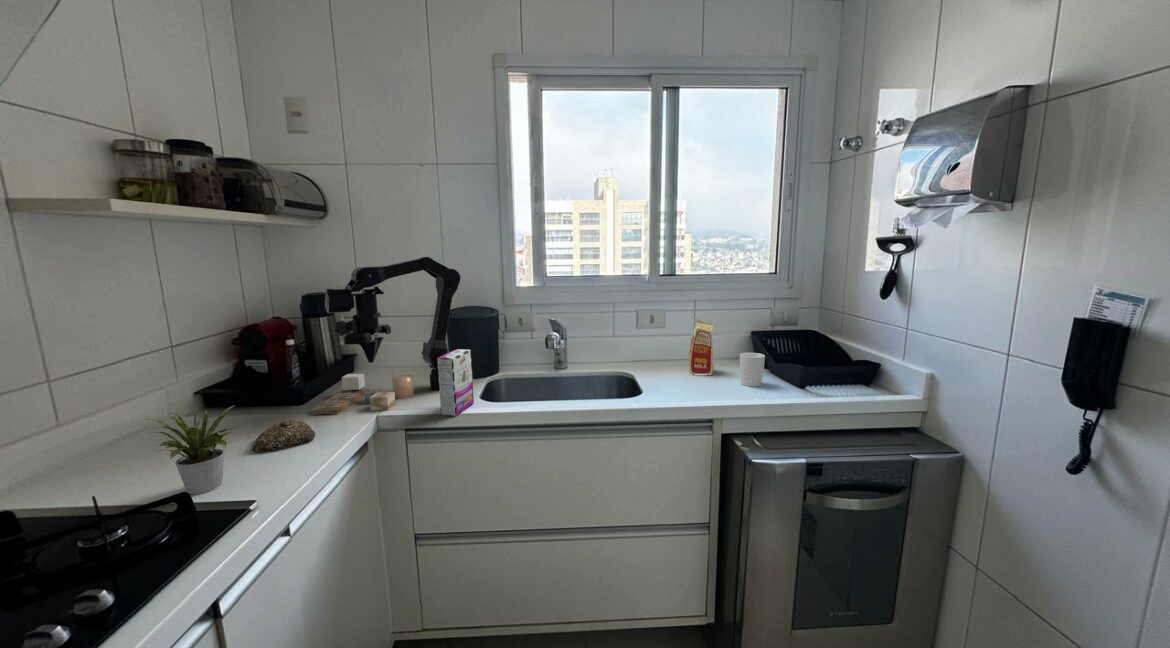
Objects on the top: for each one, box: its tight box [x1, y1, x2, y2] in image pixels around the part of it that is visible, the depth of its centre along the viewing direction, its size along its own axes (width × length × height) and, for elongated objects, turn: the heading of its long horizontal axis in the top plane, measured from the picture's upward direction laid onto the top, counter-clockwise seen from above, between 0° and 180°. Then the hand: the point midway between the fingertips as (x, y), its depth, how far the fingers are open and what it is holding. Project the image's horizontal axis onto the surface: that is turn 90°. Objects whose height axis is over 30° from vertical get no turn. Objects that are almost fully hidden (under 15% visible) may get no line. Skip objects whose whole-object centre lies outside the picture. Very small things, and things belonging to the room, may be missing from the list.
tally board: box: [310, 387, 369, 416], centre depth 133 cm, size 20×7×2 cm, turn 3°
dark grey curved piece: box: [364, 389, 384, 404], centre depth 135 cm, size 5×5×3 cm
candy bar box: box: [437, 348, 475, 417], centre depth 126 cm, size 11×5×16 cm, turn 168°
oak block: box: [369, 391, 396, 411], centre depth 129 cm, size 5×5×4 cm
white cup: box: [739, 351, 766, 388], centre depth 149 cm, size 8×8×10 cm
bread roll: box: [251, 419, 316, 454], centre depth 106 cm, size 13×12×5 cm
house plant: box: [137, 403, 236, 495], centre depth 83 cm, size 14×14×16 cm
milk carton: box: [688, 318, 716, 376], centre depth 164 cm, size 9×9×20 cm
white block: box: [341, 373, 366, 390], centre depth 141 cm, size 4×5×4 cm
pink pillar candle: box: [391, 374, 415, 399], centre depth 140 cm, size 6×6×6 cm
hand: (371, 362), depth 133 cm, fingers closed
